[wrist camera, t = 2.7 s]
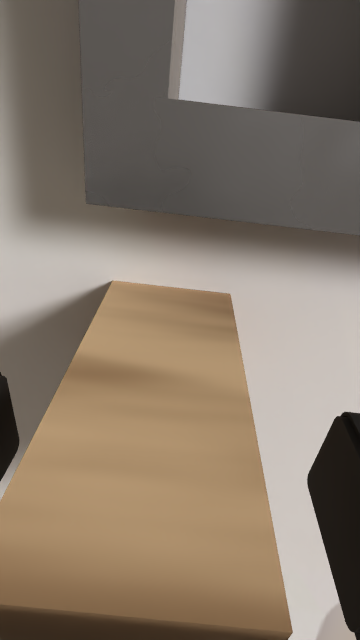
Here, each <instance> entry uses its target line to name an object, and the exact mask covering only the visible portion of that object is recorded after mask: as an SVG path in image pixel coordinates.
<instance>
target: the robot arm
mask: <svg viewBox="0 0 360 640" xmlns="http://www.w3.org/2000/svg"><path fill="white" fill-rule="evenodd" d="M18 446H19V436H18V431H17V426H16V421H15V417H14V412H13V407H12V402H11V397H10V393H9V388H8V383H7V379H6V377H5V376H2V375H1V372H0V481H1V479H2V478H3V476H4V474H5V472H6V470H7V469H8V467H9V465H10V463H11V461H12V459H13V458H14V456H15V454H16V452H17V450H18ZM307 482H308V489H309V492H310V496H311V499H312V503H313V507H314V510H315V514H316V517H317V521H318V525H319V528H320V532H321V535H322V539H323V543H324V546H325V550H326V554H327V557H328V561H329V564H330V568H331V572H332V575H333V579H334V582H335V586H336V590H337V593H338V597H339V600H340V604H341V607H342V611H343V615H344V618H345V622H346V624H347V626H348V628H349V630H350V631H352V632H354V633H355V636H356V639H357V640H360V413H351V412H344V413H342V415H341V416H337V417H336V418H335V419H334V421H333V424H332V426H331V428H330V430H329V432H328V434H327V436H326V438H325V440H324V442H323V444H322V446H321V449H320V451H319V453H318V455H317V457H316V459H315V461H314V463H313V465H312V467H311V469H310V471H309V474H308V479H307Z"/></svg>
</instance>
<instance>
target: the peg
mask: <svg viewBox="0 0 360 640" xmlns="http://www.w3.org/2000/svg"><path fill="white" fill-rule="evenodd" d="M292 633H293V631H292V626H291V621H290V615H289V610H288V604H287V599H286V593H285V588H284V583H283V577H282V572H281V566H280V561H279V555H278V550H277V545H276V539H275V534H274V528H273V523H272V517H271V512H270V507H269V501H268V496H267V490H266V485H265V479H264V474H263V469H262V463H261V458H260V452H259V447H258V441H257V436H256V431H255V425H254V420H253V414H252V409H251V403H250V398H249V393H248V387H247V382H246V376H245V371H244V365H243V360H242V355H241V349H240V344H239V338H238V333H237V327H236V322H235V317H234V311H233V306H232V300H231V295H230V294H227V293H218V292H209V291H200V290H191V289H182V288H173V287H164V286H155V285H147V284H138V283H129V282H120V281H112V283H111V285H110V287H109V289H108V291H107V293H106V295H105V297H104V299H103V300H102V302H101V304H100V306H99V308H98V310H97V312H96V314H95V316H94V318H93V320H92V322H91V324H90V326H89V328H88V330H87V332H86V334H85V336H84V338H83V340H82V342H81V344H80V346H79V348H78V350H77V352H76V354H75V356H74V357H73V359H72V361H71V363H70V365H69V367H68V369H67V371H66V373H65V375H64V377H63V379H62V381H61V383H60V385H59V387H58V389H57V391H56V393H55V395H54V397H53V399H52V401H51V403H50V405H49V407H48V409H47V411H46V413H45V415H44V416H43V418H42V420H41V422H40V424H39V426H38V428H37V430H36V432H35V434H34V436H33V438H32V440H31V442H30V444H29V446H28V448H27V450H26V452H25V454H24V456H23V458H22V460H21V462H20V464H19V466H18V468H17V470H16V472H15V473H14V475H13V477H12V479H11V481H10V483H9V485H8V487H7V489H6V491H5V493H4V495H3V497H2V499H1V501H0V640H288V638H289V637H290V636H291V634H292Z"/></svg>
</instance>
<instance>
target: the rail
mask: <svg viewBox="0 0 360 640" xmlns="http://www.w3.org/2000/svg"><path fill="white" fill-rule="evenodd" d="M186 3H187V0H79V25H80V52H81V80H82V108H83V135H84V163H85V191H86V204H94V205H102V206H111V207H120V208H128V209H137V210H145V211H154V212H163V213H171V214H180V215H188V216H197V217H206V218H214V219H223V220H231V221H240V222H249V223H257V224H266V225H275V226H283V227H292V228H300V229H309V230H318V231H326V232H335V233H343V234H352V235H360V122H358V121H350V120H342V119H333V118H325V117H317V116H309V115H300V114H292V113H284V112H276V111H267V110H259V109H251V108H243V107H235V106H226V105H218V104H210V103H202V102H193V101H185V100H178V97H179V86H180V74H181V62H182V50H183V39H184V27H185V15H186Z"/></svg>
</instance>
